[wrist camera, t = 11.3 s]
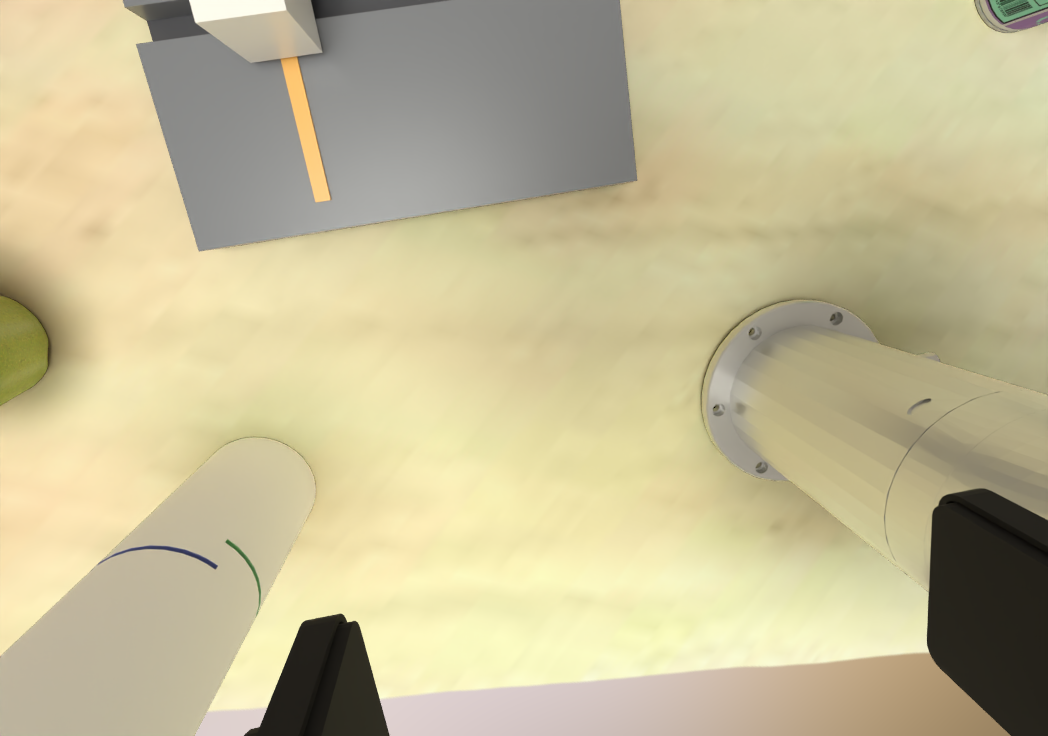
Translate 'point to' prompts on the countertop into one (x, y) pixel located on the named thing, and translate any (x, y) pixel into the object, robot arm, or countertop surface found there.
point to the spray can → (1012, 14)
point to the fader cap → (260, 27)
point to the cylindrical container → (162, 605)
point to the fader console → (390, 113)
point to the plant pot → (20, 349)
